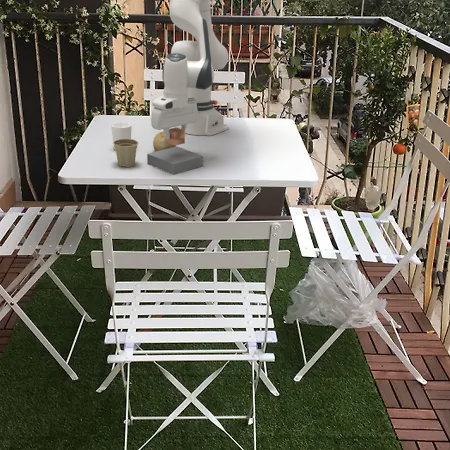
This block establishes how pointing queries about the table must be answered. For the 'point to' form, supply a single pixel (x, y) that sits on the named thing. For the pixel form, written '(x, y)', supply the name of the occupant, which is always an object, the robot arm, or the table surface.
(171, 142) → the cube
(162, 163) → the plinth
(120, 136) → the white cup
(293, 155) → the table surface
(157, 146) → the bread roll
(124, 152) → the flower pot
